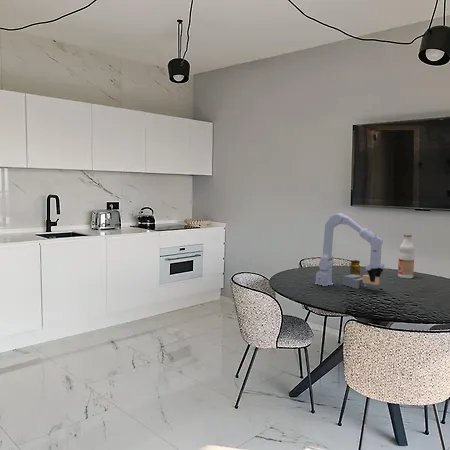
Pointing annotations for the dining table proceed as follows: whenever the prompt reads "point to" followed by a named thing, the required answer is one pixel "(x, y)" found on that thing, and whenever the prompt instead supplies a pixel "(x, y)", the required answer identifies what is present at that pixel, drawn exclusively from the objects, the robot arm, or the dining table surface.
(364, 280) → the peach rectangular block
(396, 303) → the dining table surface
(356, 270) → the condiment
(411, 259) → the fruit juice
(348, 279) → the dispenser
